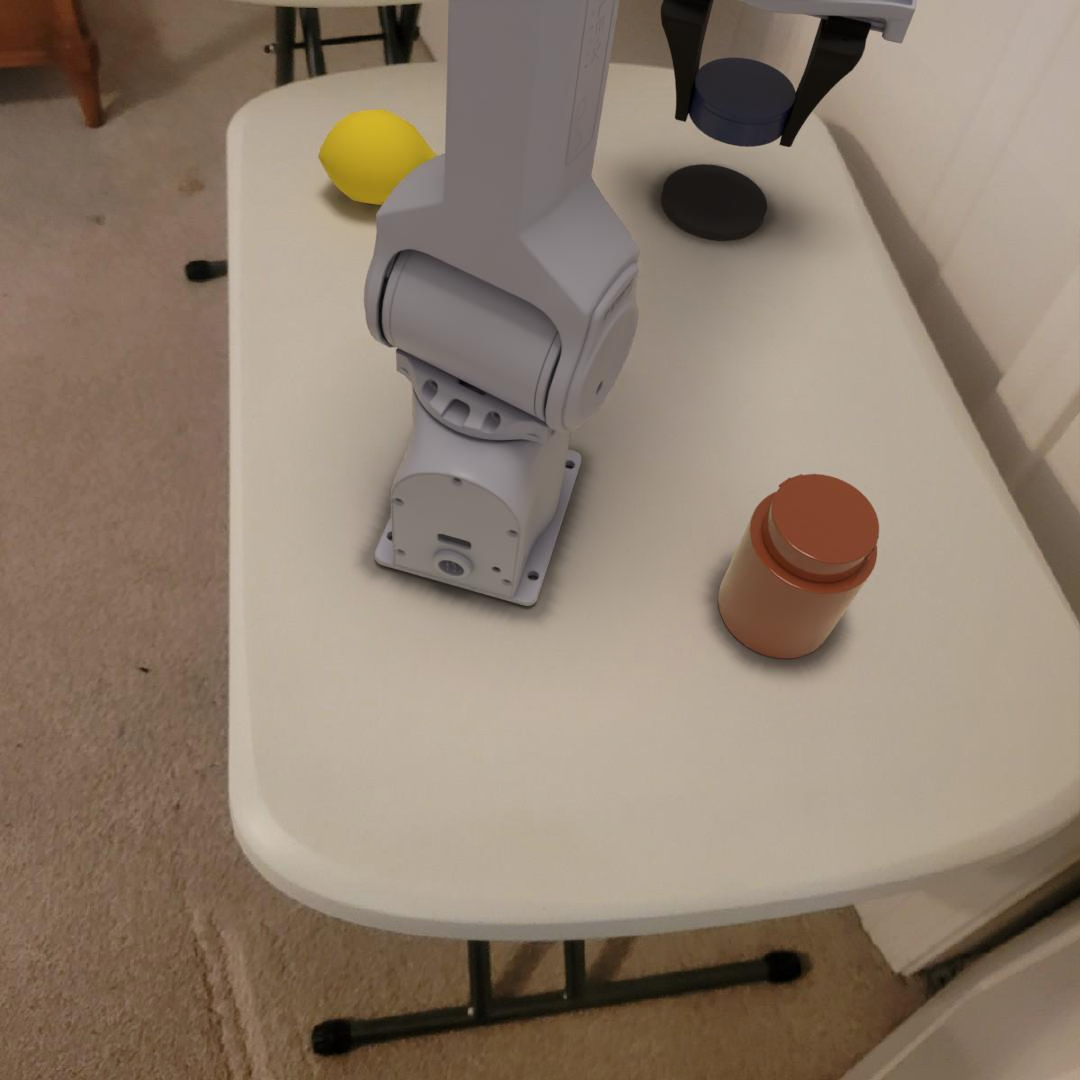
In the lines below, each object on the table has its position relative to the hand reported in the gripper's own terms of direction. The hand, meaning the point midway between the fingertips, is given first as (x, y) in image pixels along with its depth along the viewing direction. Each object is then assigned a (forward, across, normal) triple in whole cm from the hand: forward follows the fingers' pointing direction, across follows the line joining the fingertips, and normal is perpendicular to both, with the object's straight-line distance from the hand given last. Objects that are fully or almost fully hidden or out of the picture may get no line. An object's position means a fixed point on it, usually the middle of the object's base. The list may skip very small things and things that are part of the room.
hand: (735, 124), depth 61 cm
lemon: (+6, +20, +7) cm, 22 cm away
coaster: (+6, 0, 0) cm, 6 cm away
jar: (+6, -8, +29) cm, 30 cm away
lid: (-2, 0, 0) cm, 2 cm away
